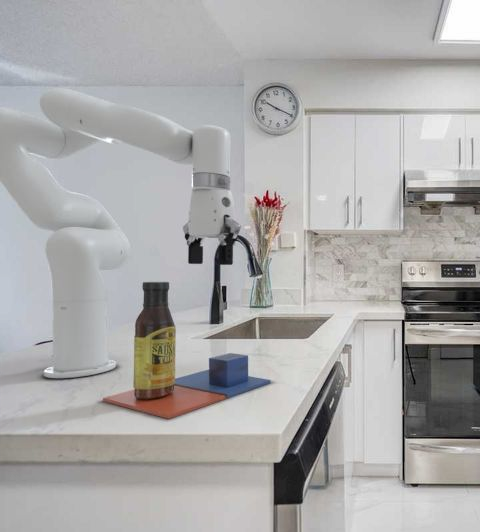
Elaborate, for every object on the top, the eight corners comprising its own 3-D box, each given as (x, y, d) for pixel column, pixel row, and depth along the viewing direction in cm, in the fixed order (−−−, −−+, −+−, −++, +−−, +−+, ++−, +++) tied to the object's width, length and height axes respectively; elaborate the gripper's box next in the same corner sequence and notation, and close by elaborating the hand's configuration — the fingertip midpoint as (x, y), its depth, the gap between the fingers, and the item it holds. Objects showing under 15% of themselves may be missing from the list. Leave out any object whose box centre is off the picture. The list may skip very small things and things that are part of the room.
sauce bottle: (156, 402, 69) (155, 282, 69) (124, 400, 70) (122, 282, 70) (184, 390, 75) (183, 280, 75) (154, 388, 76) (153, 280, 76)
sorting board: (102, 401, 71) (102, 397, 71) (208, 372, 90) (208, 368, 90) (168, 419, 63) (168, 414, 63) (270, 382, 82) (270, 379, 82)
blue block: (208, 384, 79) (208, 358, 79) (230, 377, 83) (230, 352, 83) (227, 387, 77) (227, 360, 77) (248, 380, 81) (248, 355, 81)
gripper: (253, 185, 89) (252, 265, 89) (200, 190, 97) (199, 263, 97) (223, 178, 82) (222, 265, 83) (169, 185, 91) (168, 263, 91)
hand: (210, 264), depth 90 cm, fingers open, 9 cm apart
